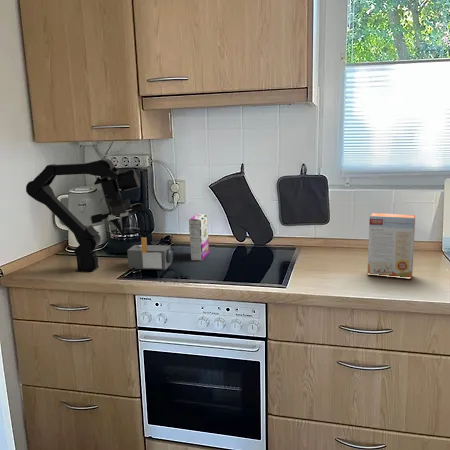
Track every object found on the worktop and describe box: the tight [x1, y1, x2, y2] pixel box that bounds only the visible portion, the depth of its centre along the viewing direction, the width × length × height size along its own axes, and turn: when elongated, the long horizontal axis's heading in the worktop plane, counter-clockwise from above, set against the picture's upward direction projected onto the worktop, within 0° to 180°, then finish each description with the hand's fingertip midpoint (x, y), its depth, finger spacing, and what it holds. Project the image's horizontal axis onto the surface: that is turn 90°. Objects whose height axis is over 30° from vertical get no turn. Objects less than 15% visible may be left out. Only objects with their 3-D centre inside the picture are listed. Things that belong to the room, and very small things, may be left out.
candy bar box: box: [188, 213, 210, 262], centre depth 185 cm, size 11×5×16 cm, turn 168°
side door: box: [140, 236, 162, 269], centre depth 169 cm, size 7×1×11 cm, turn 81°
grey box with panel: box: [126, 244, 174, 271], centre depth 174 cm, size 15×8×8 cm, turn 81°
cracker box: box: [367, 212, 416, 278], centre depth 157 cm, size 14×6×21 cm, turn 65°
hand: (123, 236), depth 169 cm, fingers closed
